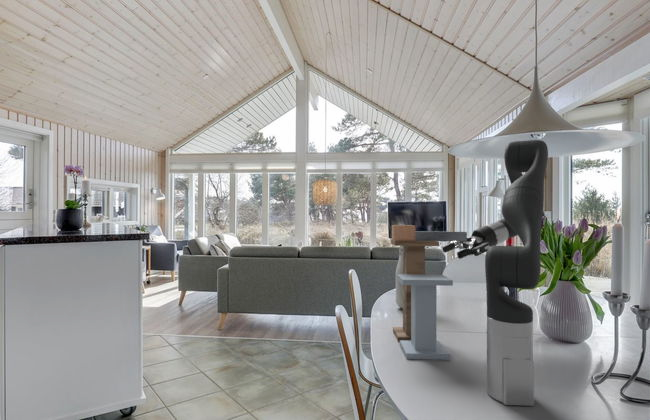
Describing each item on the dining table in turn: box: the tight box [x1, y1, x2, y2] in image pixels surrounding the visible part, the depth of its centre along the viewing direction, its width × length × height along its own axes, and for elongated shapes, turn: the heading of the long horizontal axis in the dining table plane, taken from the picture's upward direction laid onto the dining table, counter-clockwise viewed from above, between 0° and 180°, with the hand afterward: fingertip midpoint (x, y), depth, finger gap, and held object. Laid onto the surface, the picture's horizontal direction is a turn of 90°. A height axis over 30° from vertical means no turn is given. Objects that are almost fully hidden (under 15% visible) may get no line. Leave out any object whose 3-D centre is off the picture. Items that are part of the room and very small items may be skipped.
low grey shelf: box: [397, 274, 454, 361], centre depth 109 cm, size 11×14×22 cm
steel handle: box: [391, 224, 468, 242], centre depth 123 cm, size 5×24×5 cm, turn 88°
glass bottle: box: [395, 246, 403, 310], centre depth 161 cm, size 10×10×28 cm
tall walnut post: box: [390, 238, 440, 343], centre depth 123 cm, size 11×14×32 cm
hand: (450, 252), depth 123 cm, fingers open, 8 cm apart
